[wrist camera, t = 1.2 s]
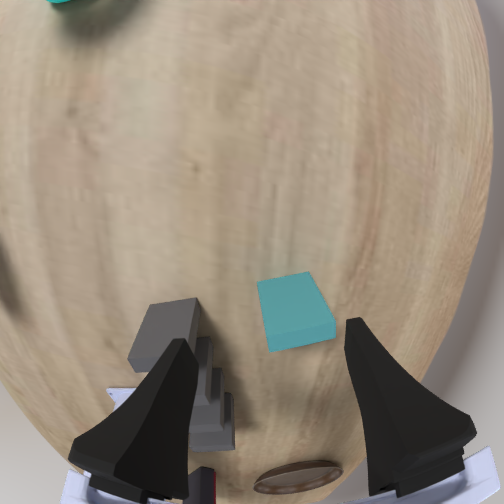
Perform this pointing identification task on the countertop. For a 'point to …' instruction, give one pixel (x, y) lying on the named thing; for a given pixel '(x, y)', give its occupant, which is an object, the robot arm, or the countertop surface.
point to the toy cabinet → (202, 487)
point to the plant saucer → (297, 477)
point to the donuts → (57, 1)
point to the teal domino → (294, 312)
